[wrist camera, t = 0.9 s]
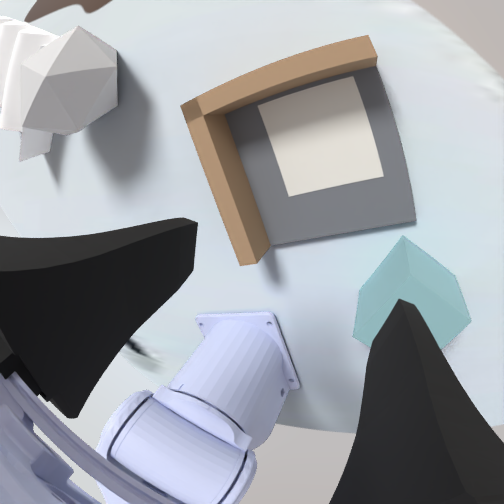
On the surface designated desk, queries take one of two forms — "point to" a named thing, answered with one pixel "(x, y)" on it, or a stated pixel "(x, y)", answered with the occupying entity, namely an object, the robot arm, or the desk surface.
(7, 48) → the file organizer
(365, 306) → the cube
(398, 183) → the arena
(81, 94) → the die
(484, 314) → the desk surface
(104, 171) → the desk surface
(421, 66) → the desk surface
